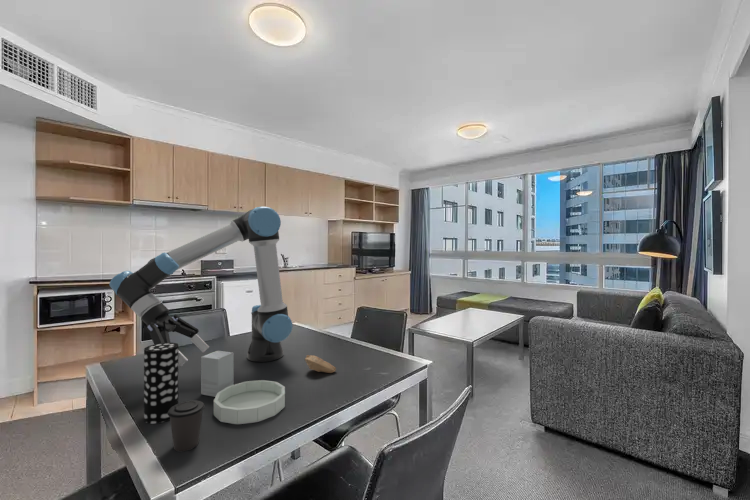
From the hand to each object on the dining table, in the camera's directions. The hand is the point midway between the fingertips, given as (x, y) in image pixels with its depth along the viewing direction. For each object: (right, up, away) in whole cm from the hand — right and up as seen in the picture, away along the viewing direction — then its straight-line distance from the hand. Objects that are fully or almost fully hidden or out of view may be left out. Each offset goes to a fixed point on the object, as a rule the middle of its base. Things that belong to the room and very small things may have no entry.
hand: (196, 356), depth 112 cm
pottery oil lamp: (+38, -12, +18) cm, 44 cm away
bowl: (+22, -12, -9) cm, 27 cm away
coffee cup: (+13, -13, -29) cm, 35 cm away
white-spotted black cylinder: (-2, -13, -16) cm, 20 cm away
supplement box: (+7, -12, +1) cm, 14 cm away
